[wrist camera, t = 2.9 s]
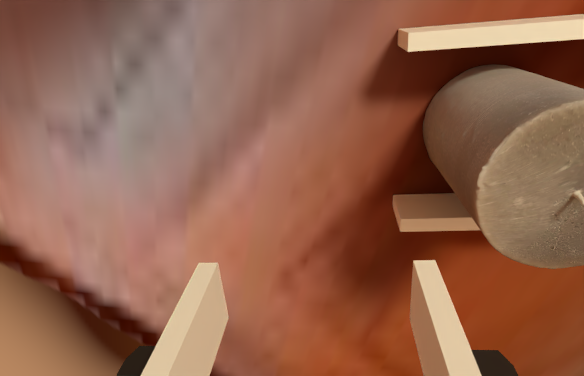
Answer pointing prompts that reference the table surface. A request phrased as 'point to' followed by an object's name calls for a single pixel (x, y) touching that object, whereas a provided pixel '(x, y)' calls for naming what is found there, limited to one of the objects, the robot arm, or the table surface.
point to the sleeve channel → (446, 206)
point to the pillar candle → (514, 160)
